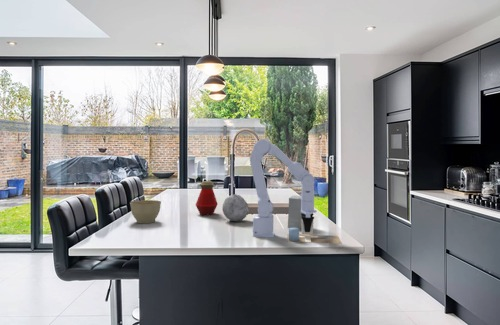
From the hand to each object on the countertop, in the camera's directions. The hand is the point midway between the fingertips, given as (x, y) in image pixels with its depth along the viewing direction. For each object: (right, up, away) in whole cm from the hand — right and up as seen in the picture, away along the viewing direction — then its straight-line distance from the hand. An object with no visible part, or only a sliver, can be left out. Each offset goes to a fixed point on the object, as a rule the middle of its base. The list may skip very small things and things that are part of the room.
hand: (307, 230), depth 161 cm
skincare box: (-2, -3, +21) cm, 21 cm away
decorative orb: (-34, -2, +36) cm, 50 cm away
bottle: (-52, -1, +58) cm, 78 cm away
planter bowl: (-82, -2, +33) cm, 89 cm away
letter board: (+2, -3, -3) cm, 5 cm away
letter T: (0, -3, -4) cm, 5 cm away
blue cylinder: (-7, -3, -6) cm, 10 cm away
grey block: (0, -1, 0) cm, 1 cm away
